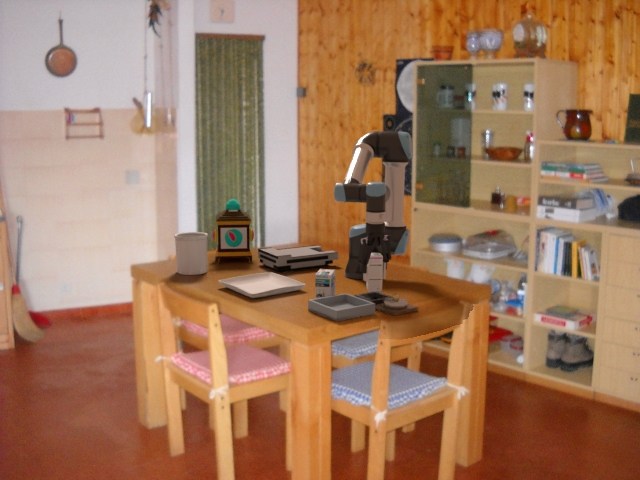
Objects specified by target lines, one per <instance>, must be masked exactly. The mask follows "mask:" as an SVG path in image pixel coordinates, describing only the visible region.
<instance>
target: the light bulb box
mask: <svg viewBox="0 0 640 480" xmlns="http://www.w3.org/2000/svg"><path fill="white" fill-rule="evenodd" d="M314 275H315V276H314V277H315V279H314V280H315V281H314V282H315V289H314V291H315V292H314V293H315V294H314V295H315V297H314V299H316V298H322V297H328V296H333V295H336V269H325V268H319V270H318V271H317V272H316V273H315V274H314Z"/></svg>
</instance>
